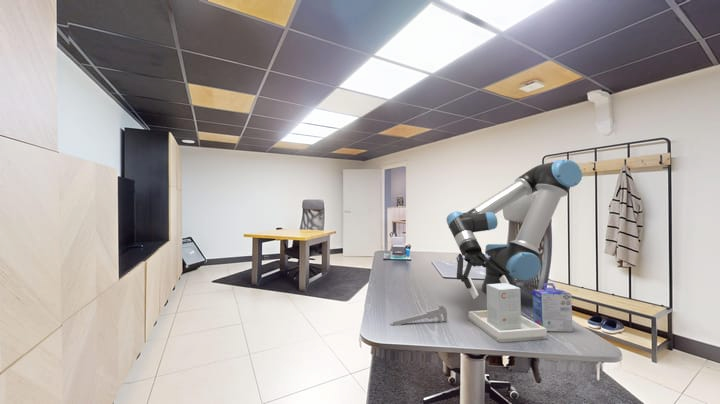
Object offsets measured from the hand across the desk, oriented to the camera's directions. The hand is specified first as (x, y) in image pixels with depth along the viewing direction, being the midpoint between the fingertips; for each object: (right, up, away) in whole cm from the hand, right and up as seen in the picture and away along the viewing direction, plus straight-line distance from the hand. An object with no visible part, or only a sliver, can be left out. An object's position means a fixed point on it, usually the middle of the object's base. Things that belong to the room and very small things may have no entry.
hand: (493, 295), depth 88 cm
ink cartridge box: (+18, -10, -3) cm, 21 cm away
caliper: (-26, -10, +1) cm, 28 cm away
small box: (+2, -9, -3) cm, 10 cm away
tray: (+2, -10, -3) cm, 10 cm away
